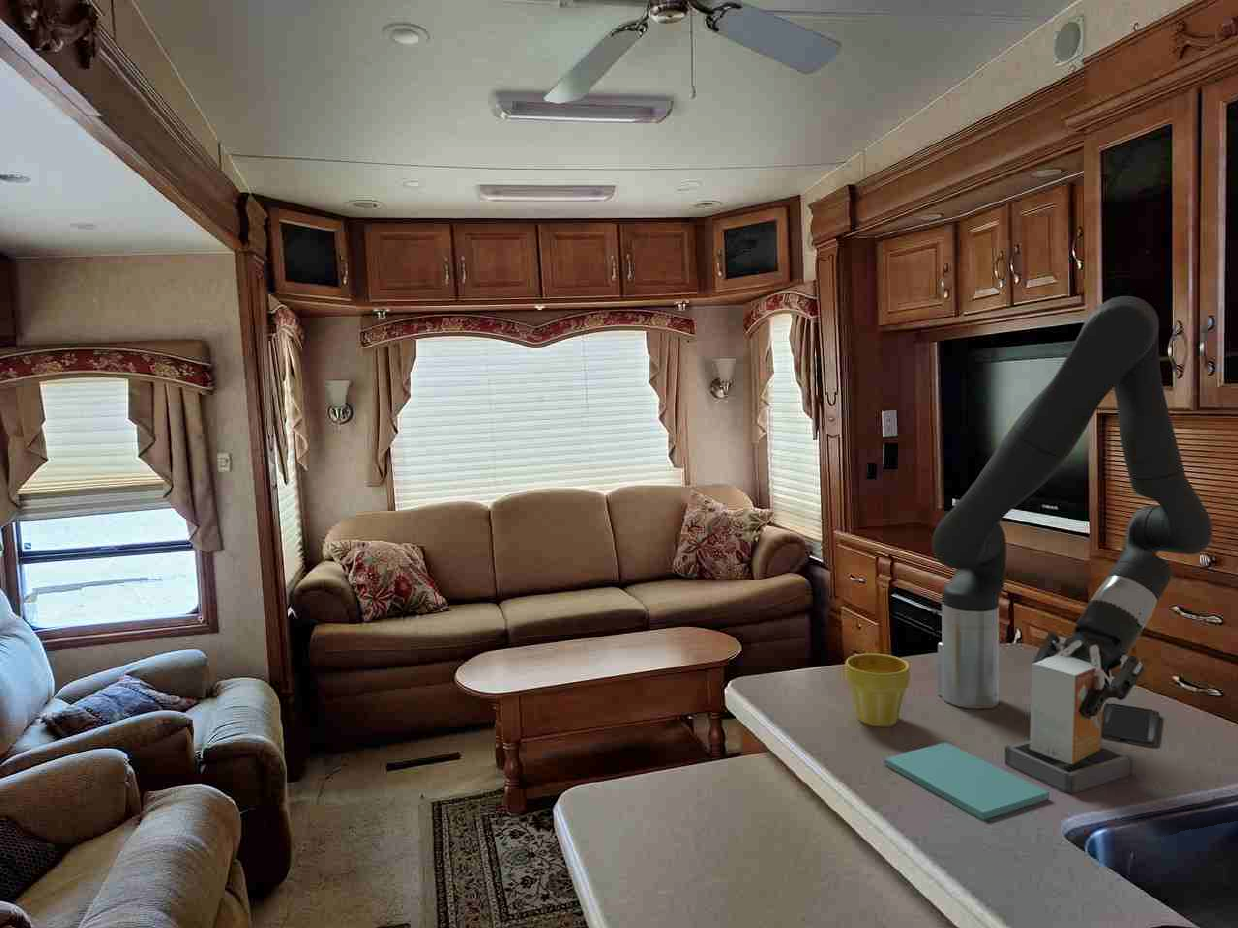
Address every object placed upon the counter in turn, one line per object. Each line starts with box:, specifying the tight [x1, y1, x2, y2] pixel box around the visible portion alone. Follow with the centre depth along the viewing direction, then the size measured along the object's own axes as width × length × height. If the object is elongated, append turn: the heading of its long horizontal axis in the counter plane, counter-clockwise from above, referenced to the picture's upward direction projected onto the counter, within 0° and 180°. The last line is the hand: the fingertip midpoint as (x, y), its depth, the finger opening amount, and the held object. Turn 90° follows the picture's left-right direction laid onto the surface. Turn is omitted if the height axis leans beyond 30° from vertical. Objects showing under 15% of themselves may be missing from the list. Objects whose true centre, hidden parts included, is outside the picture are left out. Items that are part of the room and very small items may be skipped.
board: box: [883, 742, 1050, 821], centre depth 115 cm, size 18×12×1 cm, turn 24°
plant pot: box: [844, 653, 911, 727], centre depth 138 cm, size 10×10×10 cm
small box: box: [1029, 655, 1103, 765], centre depth 118 cm, size 8×6×13 cm
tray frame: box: [1004, 739, 1133, 795], centre depth 118 cm, size 11×13×2 cm
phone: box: [1101, 702, 1160, 748], centre depth 132 cm, size 8×1×15 cm
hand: (1059, 705), depth 117 cm, fingers closed on small box, 7 cm apart
